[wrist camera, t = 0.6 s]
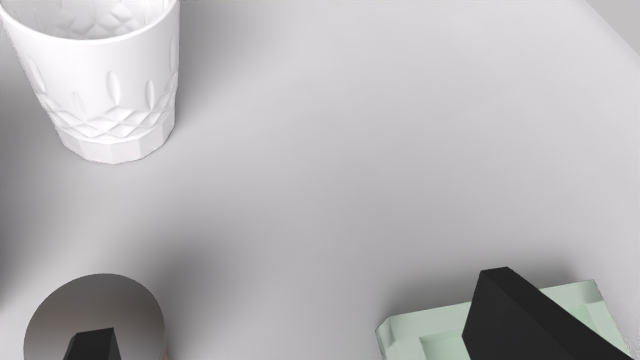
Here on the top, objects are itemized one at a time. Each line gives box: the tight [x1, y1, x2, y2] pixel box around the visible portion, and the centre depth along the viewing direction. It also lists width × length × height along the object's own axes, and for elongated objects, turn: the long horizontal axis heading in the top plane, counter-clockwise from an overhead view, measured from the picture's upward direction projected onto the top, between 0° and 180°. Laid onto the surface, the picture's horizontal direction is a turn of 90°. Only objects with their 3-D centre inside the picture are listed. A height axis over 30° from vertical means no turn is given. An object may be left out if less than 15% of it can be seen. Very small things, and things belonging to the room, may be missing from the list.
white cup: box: [0, 0, 180, 164], centre depth 28 cm, size 8×8×10 cm
